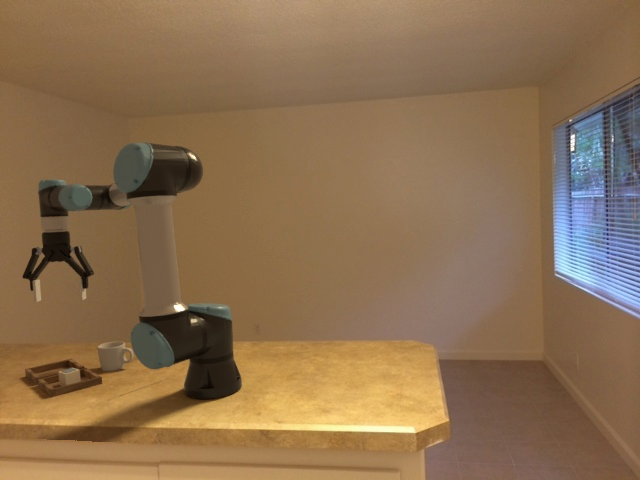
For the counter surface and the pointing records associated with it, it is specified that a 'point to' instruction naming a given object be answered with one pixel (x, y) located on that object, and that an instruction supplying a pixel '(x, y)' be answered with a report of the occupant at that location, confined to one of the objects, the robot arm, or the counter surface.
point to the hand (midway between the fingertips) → (60, 300)
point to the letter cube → (69, 376)
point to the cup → (113, 356)
